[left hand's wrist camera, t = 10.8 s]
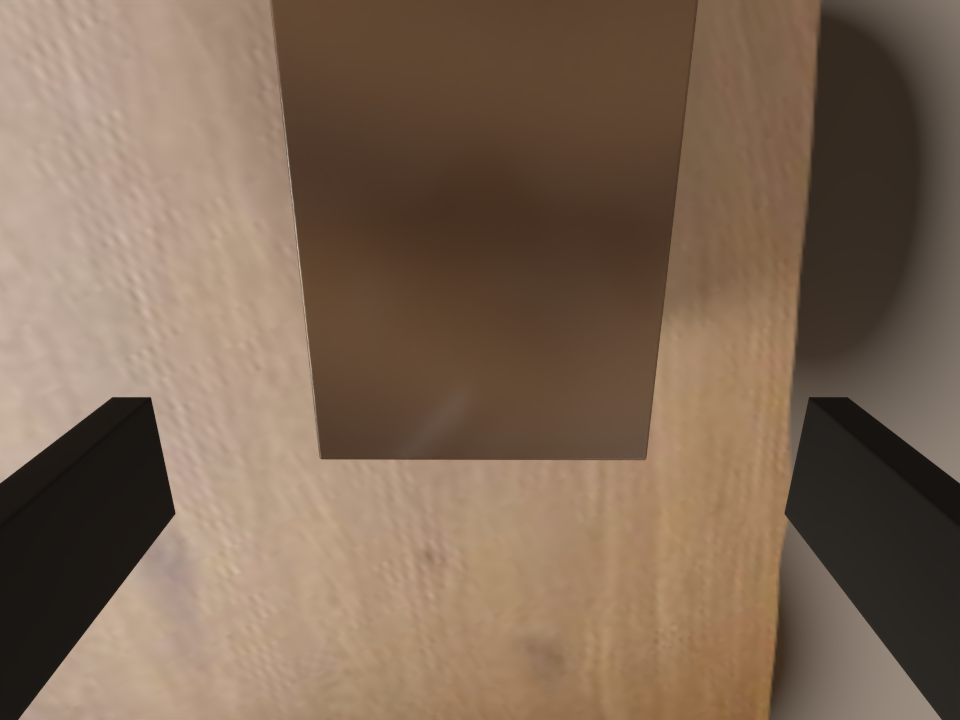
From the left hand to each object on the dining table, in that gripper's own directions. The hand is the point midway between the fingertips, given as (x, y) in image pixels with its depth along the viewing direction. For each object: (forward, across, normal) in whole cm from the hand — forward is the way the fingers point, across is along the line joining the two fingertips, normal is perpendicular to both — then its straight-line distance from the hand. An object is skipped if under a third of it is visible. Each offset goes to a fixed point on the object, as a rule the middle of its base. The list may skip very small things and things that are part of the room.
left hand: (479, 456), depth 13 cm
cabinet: (+18, 0, -4) cm, 19 cm away
